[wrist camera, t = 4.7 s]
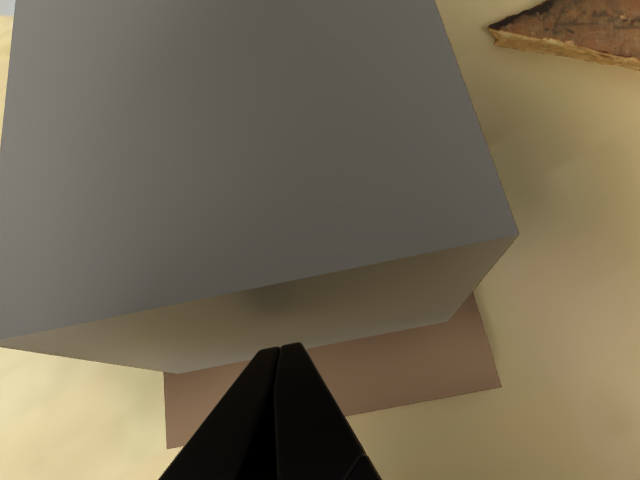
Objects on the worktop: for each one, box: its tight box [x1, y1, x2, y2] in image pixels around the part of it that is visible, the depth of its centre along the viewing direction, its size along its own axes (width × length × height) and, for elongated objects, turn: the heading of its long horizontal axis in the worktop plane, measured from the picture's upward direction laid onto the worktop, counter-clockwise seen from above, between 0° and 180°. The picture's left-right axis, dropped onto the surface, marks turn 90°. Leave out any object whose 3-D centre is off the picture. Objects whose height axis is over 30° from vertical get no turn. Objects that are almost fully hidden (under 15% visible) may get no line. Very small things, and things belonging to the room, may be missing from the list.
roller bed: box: [164, 291, 502, 449], centre depth 15 cm, size 21×11×8 cm, turn 10°
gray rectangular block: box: [0, 0, 519, 374], centre depth 11 cm, size 10×8×7 cm
